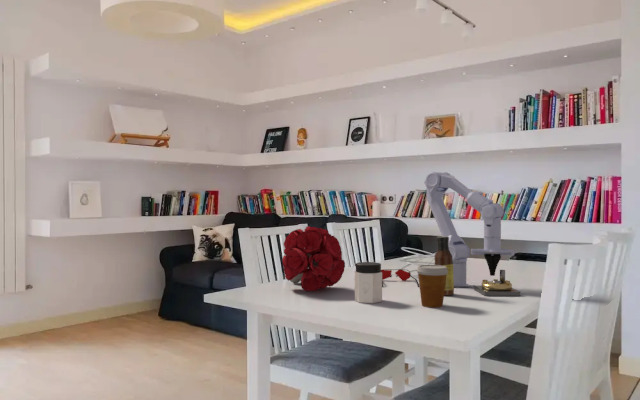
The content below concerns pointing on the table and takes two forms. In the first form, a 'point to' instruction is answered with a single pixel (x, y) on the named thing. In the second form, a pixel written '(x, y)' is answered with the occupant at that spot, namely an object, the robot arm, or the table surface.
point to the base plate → (497, 292)
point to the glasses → (397, 274)
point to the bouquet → (312, 258)
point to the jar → (368, 282)
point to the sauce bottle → (445, 263)
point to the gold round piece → (497, 283)
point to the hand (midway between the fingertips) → (492, 275)
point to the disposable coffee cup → (432, 284)
